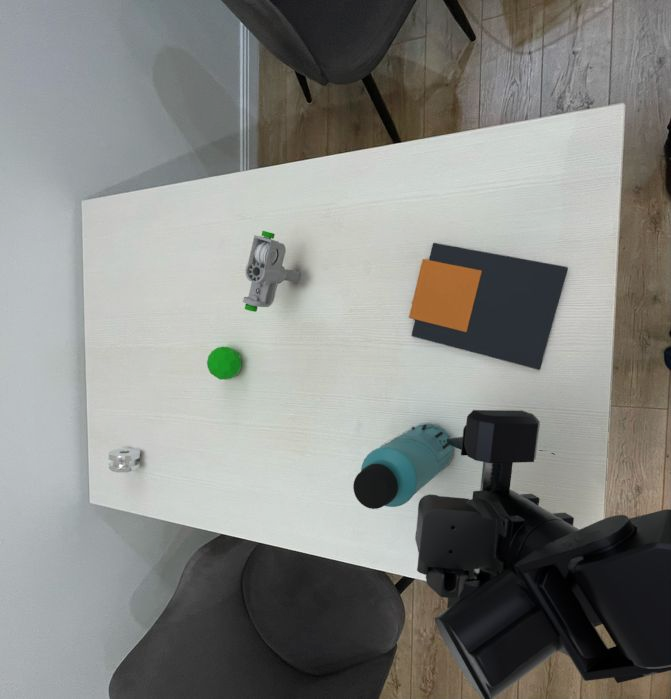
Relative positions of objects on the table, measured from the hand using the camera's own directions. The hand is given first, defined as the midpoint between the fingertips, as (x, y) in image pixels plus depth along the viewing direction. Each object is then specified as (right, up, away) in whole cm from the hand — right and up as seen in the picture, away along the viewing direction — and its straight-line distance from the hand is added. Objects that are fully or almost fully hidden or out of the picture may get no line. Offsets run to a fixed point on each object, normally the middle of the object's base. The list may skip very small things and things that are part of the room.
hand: (446, 483), depth 55 cm
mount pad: (+7, +19, +10) cm, 23 cm away
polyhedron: (-27, +12, +28) cm, 40 cm away
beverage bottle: (+1, +1, +14) cm, 14 cm away
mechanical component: (-17, +24, +22) cm, 37 cm away
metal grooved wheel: (-46, -5, +39) cm, 60 cm away
